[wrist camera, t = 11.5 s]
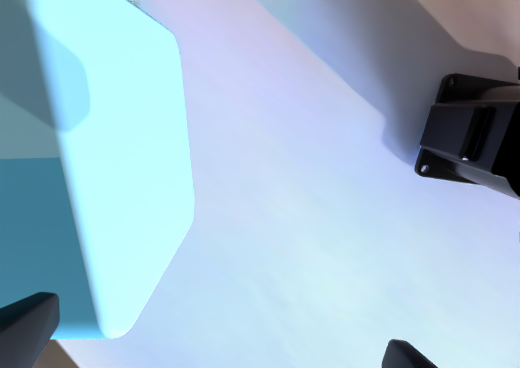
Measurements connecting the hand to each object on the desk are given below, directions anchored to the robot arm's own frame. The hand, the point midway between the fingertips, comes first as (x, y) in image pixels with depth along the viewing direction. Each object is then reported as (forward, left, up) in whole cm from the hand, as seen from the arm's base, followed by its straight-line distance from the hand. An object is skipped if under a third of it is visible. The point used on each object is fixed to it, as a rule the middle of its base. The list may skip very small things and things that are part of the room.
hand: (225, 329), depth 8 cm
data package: (+7, -3, -13) cm, 15 cm away
